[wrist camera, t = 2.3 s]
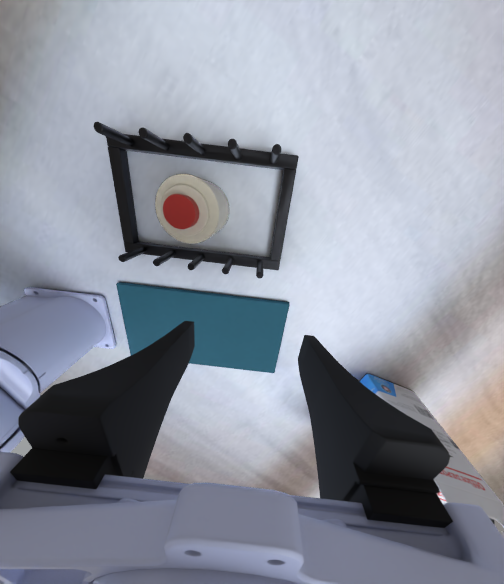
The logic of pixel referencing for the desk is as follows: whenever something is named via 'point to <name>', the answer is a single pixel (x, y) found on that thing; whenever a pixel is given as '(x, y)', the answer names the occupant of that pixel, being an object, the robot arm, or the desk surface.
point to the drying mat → (207, 324)
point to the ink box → (459, 472)
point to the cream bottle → (191, 208)
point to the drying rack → (203, 152)
